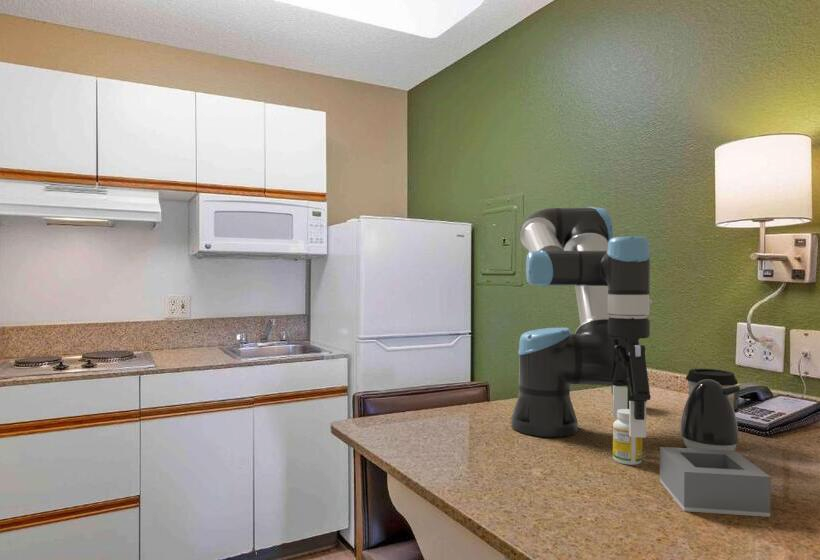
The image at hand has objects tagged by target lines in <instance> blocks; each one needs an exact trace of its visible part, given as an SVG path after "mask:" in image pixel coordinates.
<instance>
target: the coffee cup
mask: <svg viewBox="0 0 820 560" xmlns="http://www.w3.org/2000/svg"><path fill="white" fill-rule="evenodd" d="M705 379H711V380H714V381H717V382H718V383H720V384H721V385H722V387H723V388H729V387H734V386H737V385H738V384H739V383H738V379H737V378H736V376H735V373H734V372H731V371H727V370H722V369H713V368H692V369H691V368H690V369H689V371H688V374H687V375H686V376H685V380H686V381H687V383H688V396H689V395H690V393H691V391H692V389H693V387H694V386H695V385H696V384H697V383H698V382H699V381H701V380H705ZM728 397H729V399H730V401H731V403H732V406H733V407H734V403H735V393H733V394H730V395H728Z"/></svg>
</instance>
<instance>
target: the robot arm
mask: <svg viewBox="0 0 820 560" xmlns="http://www.w3.org/2000/svg"><path fill="white" fill-rule="evenodd" d="M520 225H521V226H519V227H520V228H519V238H520V242H521V244H522V246H523V247H524V248H525V249H526V250H528V253H527V255H526V260H525V261H526V262H525V263H526V264H525V274H526V282H527V283H528V284H529V286H530V285H532V286H541V287H552V286H553V287H561V286H562V287H565V286H566V287H568V286H569V287H570V286H571V287H572V286H573V287H574V289H575V294H576V295H575V296H576V302H577V309H578V310H577V311H578V316H579V324H580V325H579V326H578V327H577V328H576V330H575V333H572V331H571V329H570V328H568V327H547V328H545V327H544V328H537V329H533V330H529V331H525V332H523V333H522V334H521V336H520V338H519V344H518V345H519V346H518V352H517V353H518V357H519V359H518V363H519V365H518V368H519V369H518V395H517V399H516V402H515V405H514V408H513V410H512V414H511V416H510V417H511V421H510V423H511V424H510V427H511V428H512V429H513V430H514V431H517V432H519V433H522V434H526V435H528V436H529V435H530V436H535V437H536V436H537V437H545V438H548V437H549V438H560V437H561V438H562V437H568V436H569V437H570V436H572V435H574V434H576V433H577V432H578V428H579V427H578V426H579V425H578V418H577V415H576V412H575V410H574V406H573V402H572V400H571V391H570V390H571V385H583V386H585V385H586V386H588V385H589V386H611V387H612V386H613V395H612V418H613V419H618V418H617V410H619V409H627V400H628V401H629V436H630V437H643V438H647V401H650V400H651V398H652V397H651V392H650V384H649V377H648V376H649V375H648V369H647V361H646V360H647V359H646V347H645V345H643V344H640V341H639V340H640V339H647V338H649V337H650V336H651V335H650V334H651V333H650V332H651V331H650V330H651V329H650V328H651V327H650V326H651V323H650V322H651V321H650V319H649V318H647V316H649V315H650V305H652V304H653V300H652V299H650V295H651V294H650V289H651V288H650V285H651V284H650V283H651V281H650V280H651V273H650V272H651V269H650V268H651V264H650V263H651V262H650V261H651V256H652V255H651V251H650V250H651V249H650V241H649V239H648V238H646V237H644V236H633V235H632V236H617V237H614V230H613V227H614V226H613V221H612V217H611V216H610V214H609V212H608V210H607V209H605V208H603V207H594V206H588V207H548V208H544V209H540V210H538V211H535V212H534V213H532V214H530V215H529V216H528V217H526V218H525V219H524V221H523V222H522V224H520ZM623 385H629V388H630V394H631V396H628V398H627V386H623Z"/></svg>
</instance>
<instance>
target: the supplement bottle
mask: <svg viewBox="0 0 820 560" xmlns="http://www.w3.org/2000/svg"><path fill="white" fill-rule="evenodd" d="M643 439H644V437H630V436H629V409H619V410H617V418H616V420H615V421H614V422H613V424H612V459H613V460H614V461H615V462H617V463H619V464H622V465H628V466H629V465H630V466H637V465H640V464H642V462H643V447H644V446H643V441H644V440H643Z"/></svg>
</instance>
